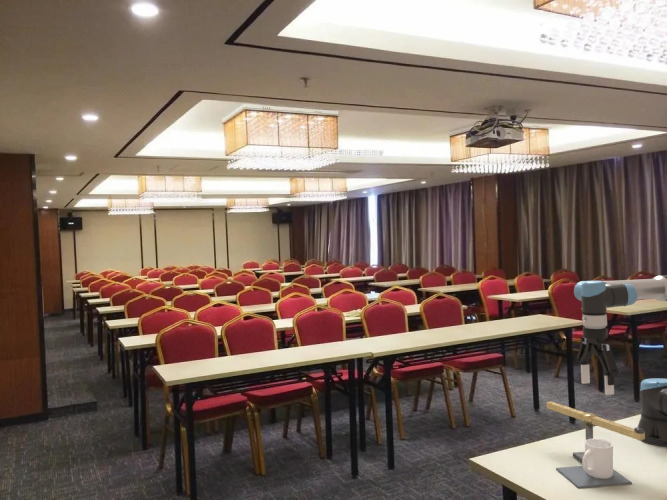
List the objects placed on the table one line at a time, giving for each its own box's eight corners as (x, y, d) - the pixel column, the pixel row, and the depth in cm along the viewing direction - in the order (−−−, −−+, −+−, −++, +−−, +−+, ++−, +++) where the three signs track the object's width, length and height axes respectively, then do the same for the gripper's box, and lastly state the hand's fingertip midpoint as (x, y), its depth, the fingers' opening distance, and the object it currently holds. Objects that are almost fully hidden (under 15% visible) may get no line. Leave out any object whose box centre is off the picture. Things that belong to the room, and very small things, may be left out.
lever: (647, 439, 177) (647, 429, 177) (638, 442, 175) (638, 431, 175) (553, 406, 211) (553, 398, 211) (544, 408, 209) (544, 400, 209)
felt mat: (606, 465, 190) (606, 464, 190) (631, 484, 176) (631, 482, 176) (556, 469, 188) (556, 467, 188) (578, 488, 174) (578, 486, 174)
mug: (594, 484, 175) (593, 452, 175) (572, 474, 182) (571, 444, 182) (618, 475, 181) (618, 444, 180) (596, 466, 188) (595, 436, 188)
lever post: (594, 455, 199) (593, 418, 199) (607, 464, 191) (606, 425, 191) (573, 456, 198) (572, 419, 198) (585, 466, 190) (584, 427, 190)
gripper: (564, 321, 199) (567, 379, 199) (607, 334, 174) (609, 400, 175) (584, 320, 200) (586, 377, 200) (629, 332, 175) (631, 398, 176)
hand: (597, 388), depth 187 cm, fingers open, 13 cm apart
